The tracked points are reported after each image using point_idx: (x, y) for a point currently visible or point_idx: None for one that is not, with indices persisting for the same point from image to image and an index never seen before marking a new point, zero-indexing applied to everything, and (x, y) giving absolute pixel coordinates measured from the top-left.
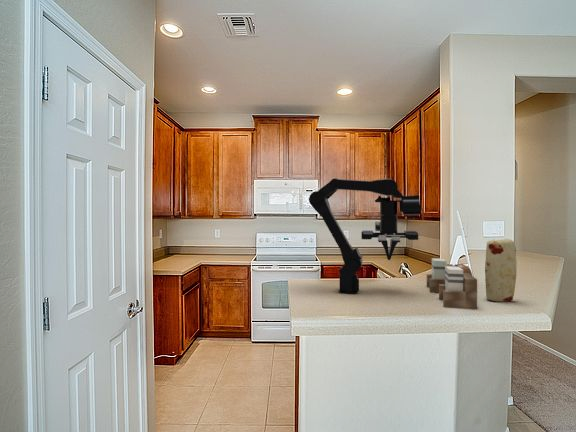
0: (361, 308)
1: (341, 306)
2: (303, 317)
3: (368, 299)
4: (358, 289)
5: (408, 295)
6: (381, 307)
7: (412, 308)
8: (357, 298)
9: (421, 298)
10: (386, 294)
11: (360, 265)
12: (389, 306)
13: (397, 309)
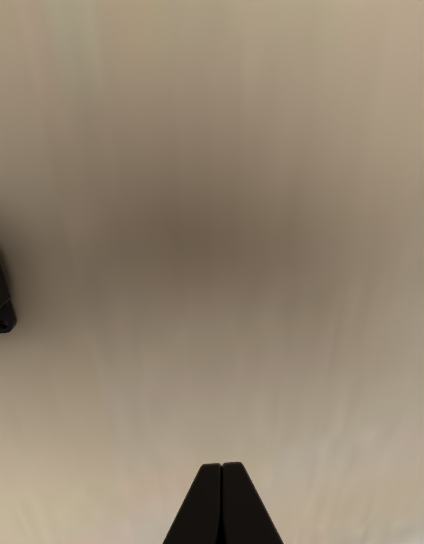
0: (106, 539)
1: (17, 534)
2: None
3: (109, 415)
4: (4, 303)
5: (349, 273)
6: None
7: (325, 497)
8: (47, 411)
9: (418, 325)
10: (203, 285)
11: None
12: None
13: None
